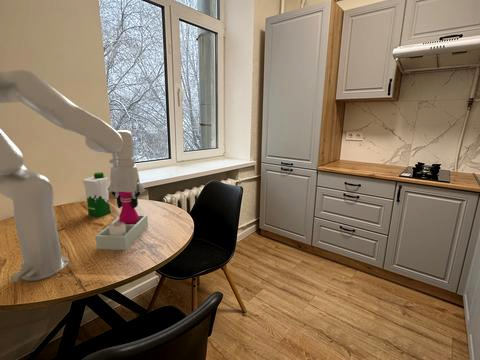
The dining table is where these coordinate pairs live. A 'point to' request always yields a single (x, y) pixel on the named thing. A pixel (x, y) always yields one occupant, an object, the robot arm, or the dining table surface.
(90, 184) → the milk carton
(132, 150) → the robot arm
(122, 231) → the salt cellar
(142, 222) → the grey divided tray
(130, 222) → the pepper mill
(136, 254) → the dining table surface
